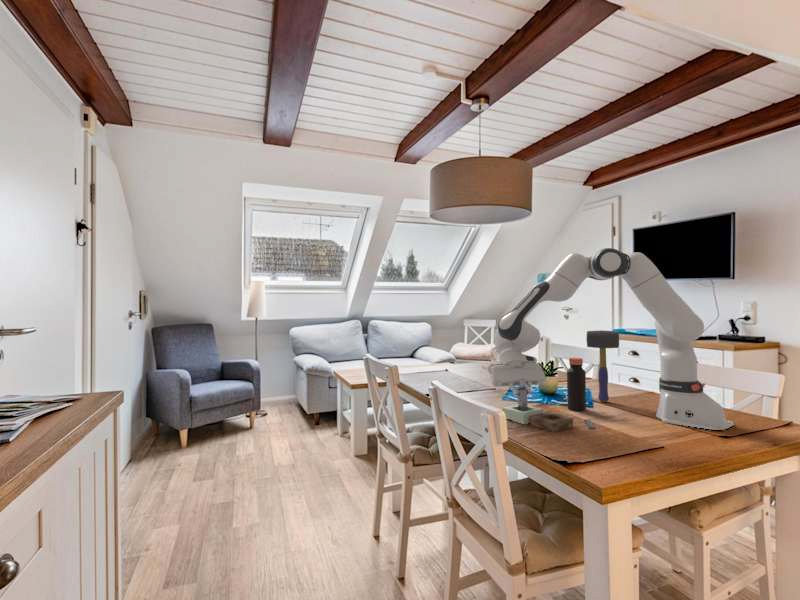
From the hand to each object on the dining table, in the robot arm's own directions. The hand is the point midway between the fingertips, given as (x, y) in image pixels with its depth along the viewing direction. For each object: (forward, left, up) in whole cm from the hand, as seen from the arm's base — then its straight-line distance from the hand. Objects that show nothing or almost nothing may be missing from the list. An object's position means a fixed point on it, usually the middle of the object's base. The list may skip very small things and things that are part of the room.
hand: (523, 394), depth 156 cm
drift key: (-17, -13, -10) cm, 24 cm away
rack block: (+1, 0, -9) cm, 9 cm away
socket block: (-10, -2, -9) cm, 14 cm away
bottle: (-1, -28, -10) cm, 30 cm away
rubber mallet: (0, -47, -10) cm, 48 cm away
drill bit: (+1, 0, -8) cm, 8 cm away
